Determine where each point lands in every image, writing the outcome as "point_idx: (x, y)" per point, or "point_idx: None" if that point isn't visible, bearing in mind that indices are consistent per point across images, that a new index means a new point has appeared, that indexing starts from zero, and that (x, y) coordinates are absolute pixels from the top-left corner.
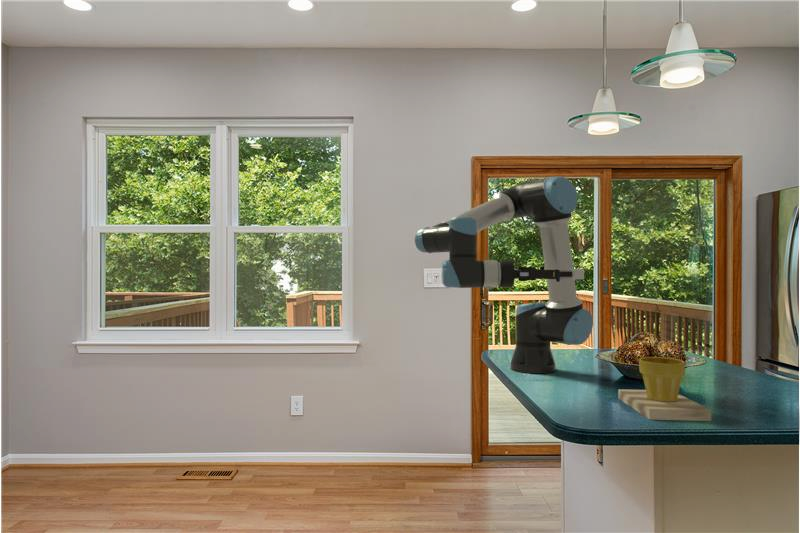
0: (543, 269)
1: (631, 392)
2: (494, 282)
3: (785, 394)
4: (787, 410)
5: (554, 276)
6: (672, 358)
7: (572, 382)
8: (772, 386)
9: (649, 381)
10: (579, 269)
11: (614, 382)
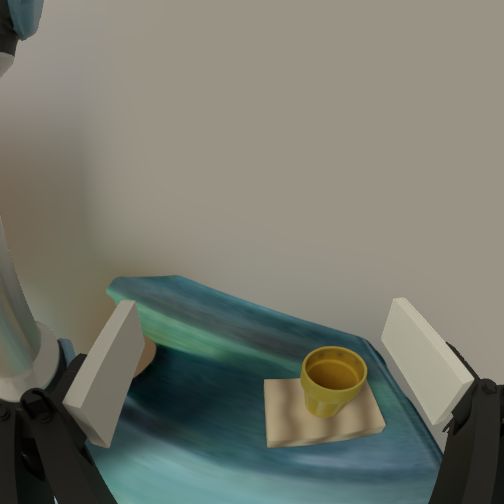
0: (62, 418)
1: (289, 429)
2: None
3: (226, 296)
4: (291, 318)
5: (502, 420)
6: (313, 351)
7: (137, 470)
8: (193, 290)
9: (345, 402)
10: (414, 311)
11: (147, 410)
